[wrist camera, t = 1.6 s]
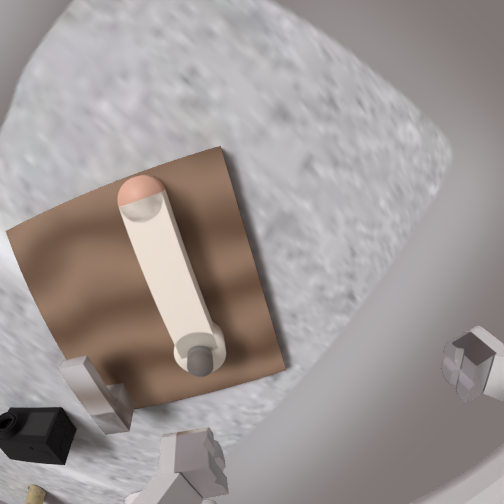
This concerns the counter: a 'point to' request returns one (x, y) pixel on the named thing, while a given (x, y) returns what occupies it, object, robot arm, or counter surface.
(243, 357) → the pivot base
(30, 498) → the small jar
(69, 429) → the digital camera
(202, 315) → the link
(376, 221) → the counter surface
